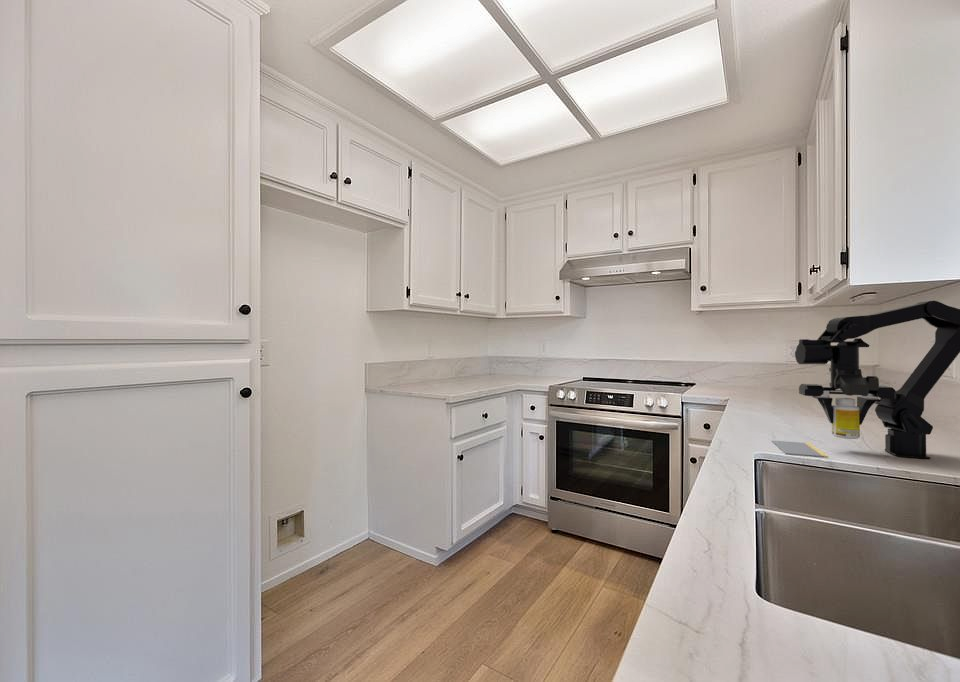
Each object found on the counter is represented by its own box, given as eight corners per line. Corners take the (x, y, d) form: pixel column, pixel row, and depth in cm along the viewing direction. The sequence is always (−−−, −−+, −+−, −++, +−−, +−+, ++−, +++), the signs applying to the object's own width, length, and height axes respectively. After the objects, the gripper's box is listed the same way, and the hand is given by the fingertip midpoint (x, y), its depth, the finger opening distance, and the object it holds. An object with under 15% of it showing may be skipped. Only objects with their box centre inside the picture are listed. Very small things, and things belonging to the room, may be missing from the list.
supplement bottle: (865, 439, 108) (865, 400, 108) (841, 439, 108) (841, 399, 108) (849, 435, 113) (849, 397, 113) (826, 434, 114) (826, 396, 114)
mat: (808, 444, 120) (808, 442, 120) (827, 457, 106) (827, 455, 106) (771, 441, 123) (771, 440, 123) (785, 454, 109) (785, 452, 109)
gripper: (811, 365, 107) (812, 427, 107) (907, 366, 100) (908, 432, 100) (798, 363, 117) (798, 419, 117) (884, 364, 110) (885, 424, 110)
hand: (845, 423), depth 111 cm, fingers closed on supplement bottle, 6 cm apart
